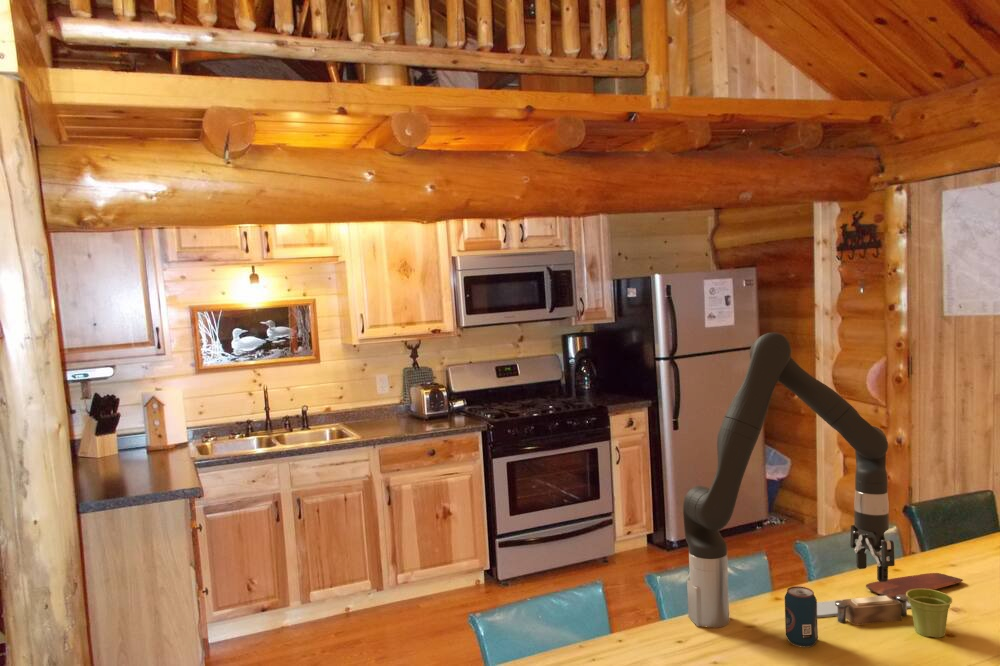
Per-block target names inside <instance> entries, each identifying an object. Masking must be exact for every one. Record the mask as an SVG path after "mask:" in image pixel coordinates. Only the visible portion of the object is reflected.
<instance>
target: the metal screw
mask: <svg viewBox="0 0 1000 666" xmlns="http://www.w3.org/2000/svg"><path fill="white" fill-rule="evenodd" d="M837 600H838V601H835V605H836V606H837V609H838V616H837V621H838V622H839V623H841V624H844V623H846V622H847V619H846V607H848V603H847V602H845V601H840V600H841V599H837Z"/></svg>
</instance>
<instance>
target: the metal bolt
mask: <svg viewBox="0 0 1000 666" xmlns="http://www.w3.org/2000/svg"><path fill="white" fill-rule="evenodd" d="M896 599H897V600H898V602H899V603H900V604H901V617H908V615H907V614H908V613H907V612H908V611H907V609H908V608H907V602H909V599H908V598H907V596H906V595H902V594H898V595H896Z"/></svg>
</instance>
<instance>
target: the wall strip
mask: <svg viewBox="0 0 1000 666" xmlns="http://www.w3.org/2000/svg"><path fill="white" fill-rule="evenodd" d="M873 597H875V596H873ZM893 599H894V600H896V601H897V602H898V600H897V599H896V598H893ZM838 600H840V601H843V600H845V599H834V600H827V601H826V600H824V601H817V619H818V618H827V617H828V618H829V617H836V616H837V617H838V609H837V606H836V605H835V601H838ZM907 609H911V605H910V603H909V601H907Z"/></svg>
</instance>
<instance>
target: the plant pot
mask: <svg viewBox="0 0 1000 666" xmlns="http://www.w3.org/2000/svg"><path fill="white" fill-rule="evenodd" d="M906 596H907V598H908V599H909V601H908V603H910V605H911V608H910V609H911V615H912V621H913V626H914V627H913V628H914V630H915V633H916V634H919V635H921V636H923V637H927V638H928V637H933V638H935V639H936V638H939V639H940V638H942V637H944V636H945V635H946V628H947V622H948V613H949V609H950V607H951V604H952V603H953V597H952V596H950V595H949V594H947V593H945V592H942V591H939V590H937V589H934V590H931V589H912V590H909V591H907V592H906Z"/></svg>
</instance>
